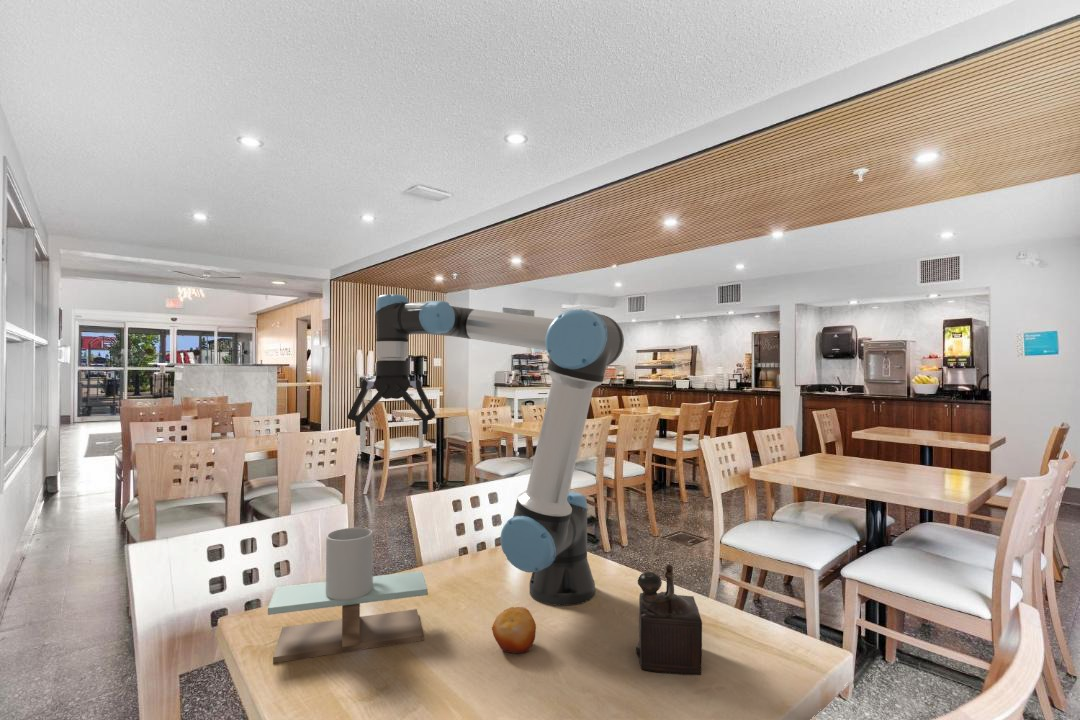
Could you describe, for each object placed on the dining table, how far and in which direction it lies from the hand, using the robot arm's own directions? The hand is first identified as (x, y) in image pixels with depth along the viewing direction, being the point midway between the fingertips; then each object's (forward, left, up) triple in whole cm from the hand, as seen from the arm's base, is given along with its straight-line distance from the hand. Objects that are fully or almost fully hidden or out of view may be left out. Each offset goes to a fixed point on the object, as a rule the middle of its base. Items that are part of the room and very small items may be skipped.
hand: (392, 448), depth 132 cm
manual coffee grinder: (-67, -8, -33) cm, 75 cm away
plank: (-14, +20, -25) cm, 35 cm away
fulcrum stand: (-14, +20, -33) cm, 41 cm away
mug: (-14, +20, -24) cm, 34 cm away
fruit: (-42, +4, -33) cm, 54 cm away
